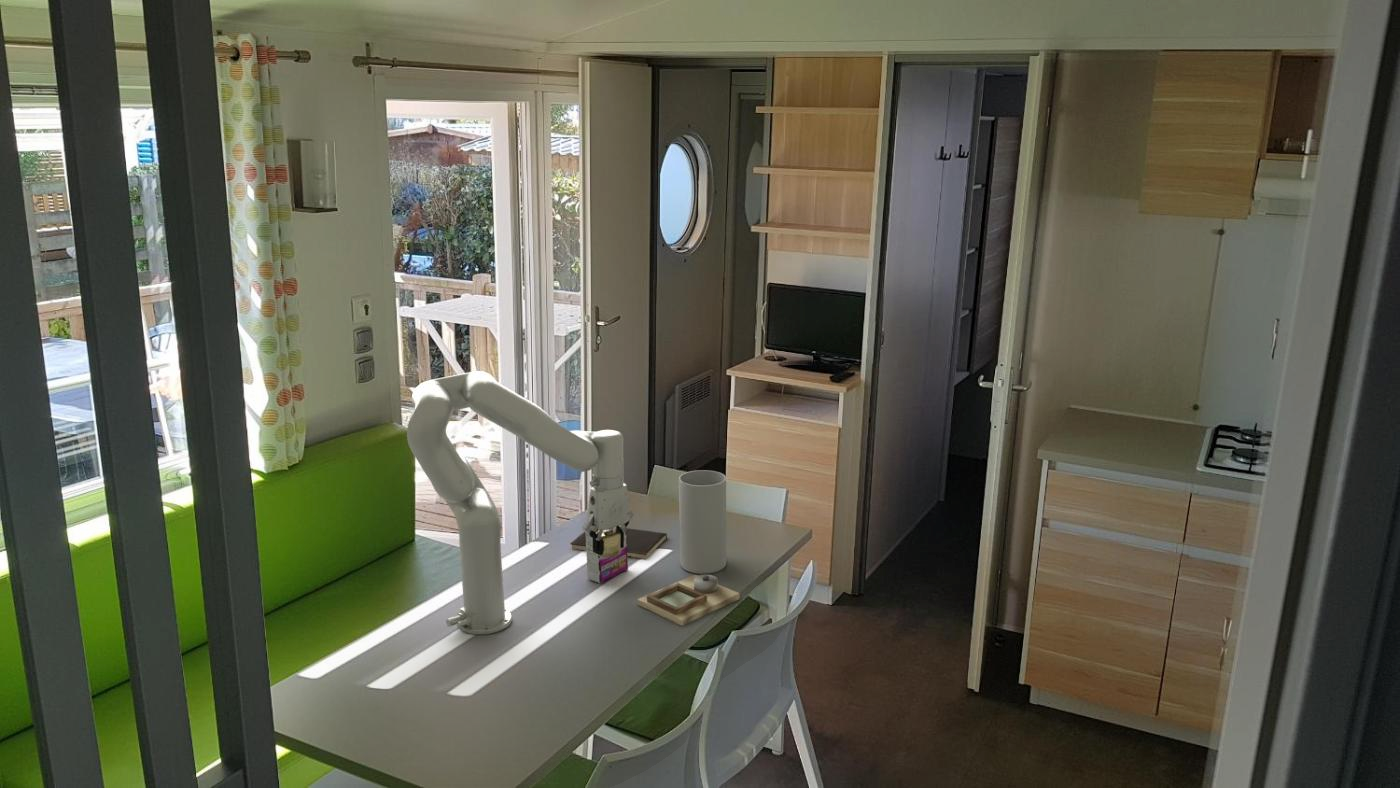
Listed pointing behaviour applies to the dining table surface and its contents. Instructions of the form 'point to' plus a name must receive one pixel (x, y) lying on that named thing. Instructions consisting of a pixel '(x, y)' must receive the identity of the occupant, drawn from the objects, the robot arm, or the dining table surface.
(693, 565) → the cylinder vase
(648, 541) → the hardcover book
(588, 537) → the candy bar box
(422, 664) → the dining table surface
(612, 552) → the gold round vessel
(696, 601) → the carrier
